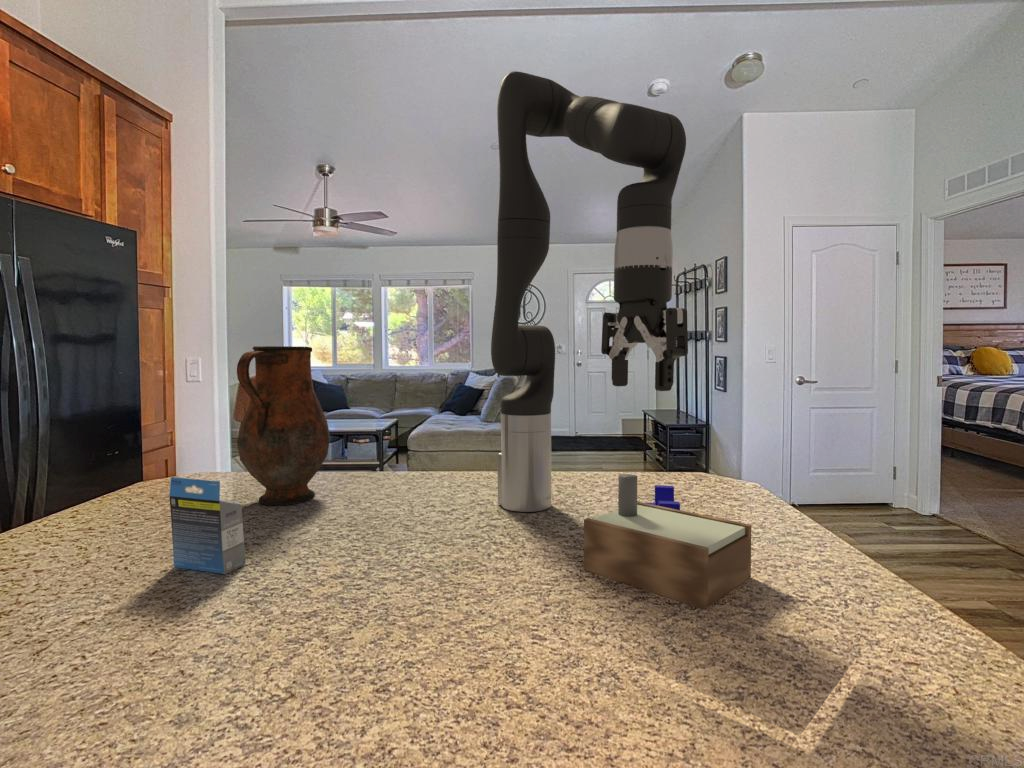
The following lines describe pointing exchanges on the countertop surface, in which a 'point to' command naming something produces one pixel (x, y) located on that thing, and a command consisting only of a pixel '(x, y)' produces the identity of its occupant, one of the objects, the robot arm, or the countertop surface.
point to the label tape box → (205, 527)
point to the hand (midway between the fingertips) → (640, 388)
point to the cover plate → (667, 520)
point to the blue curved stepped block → (665, 497)
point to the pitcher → (282, 423)
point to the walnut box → (667, 561)
